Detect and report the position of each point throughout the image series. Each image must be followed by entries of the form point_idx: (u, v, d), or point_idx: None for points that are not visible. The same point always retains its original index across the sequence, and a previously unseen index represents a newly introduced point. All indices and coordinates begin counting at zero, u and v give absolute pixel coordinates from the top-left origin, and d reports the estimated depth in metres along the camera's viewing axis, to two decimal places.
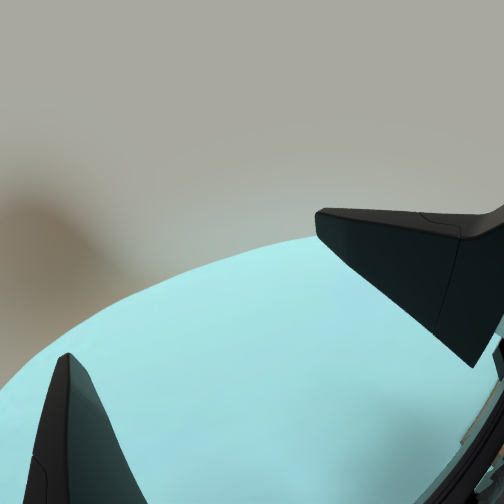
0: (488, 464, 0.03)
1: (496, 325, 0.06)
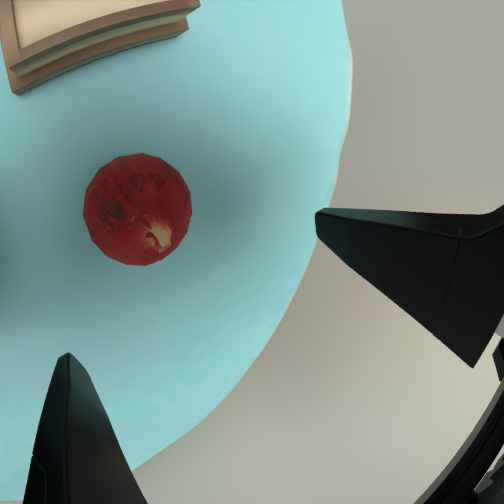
0: (488, 465, 0.03)
1: (496, 325, 0.06)
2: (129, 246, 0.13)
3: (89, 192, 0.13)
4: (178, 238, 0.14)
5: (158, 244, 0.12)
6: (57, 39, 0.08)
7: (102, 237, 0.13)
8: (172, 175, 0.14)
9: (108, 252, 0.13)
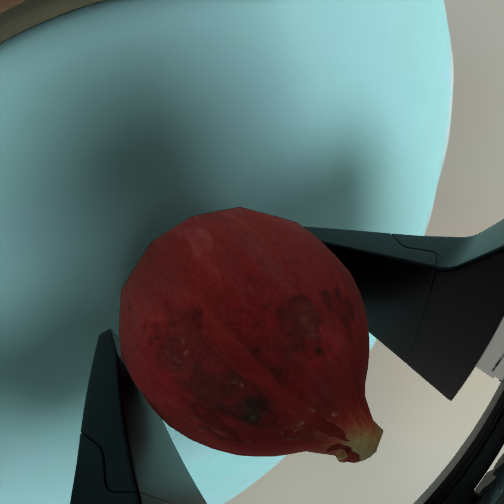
0: (489, 464, 0.03)
1: (476, 361, 0.06)
2: (270, 455, 0.05)
3: (139, 327, 0.05)
4: None
5: (353, 461, 0.04)
6: None
7: (193, 432, 0.05)
8: (348, 277, 0.06)
9: None
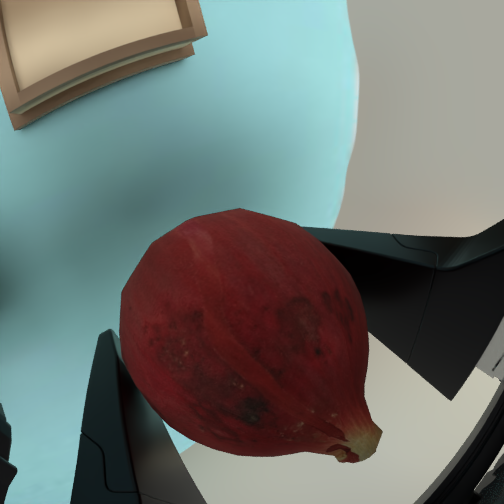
0: (489, 465, 0.03)
1: (476, 361, 0.06)
2: (270, 455, 0.05)
3: (140, 328, 0.05)
4: None
5: (353, 461, 0.04)
6: (58, 79, 0.08)
7: (192, 433, 0.05)
8: (348, 278, 0.06)
9: None
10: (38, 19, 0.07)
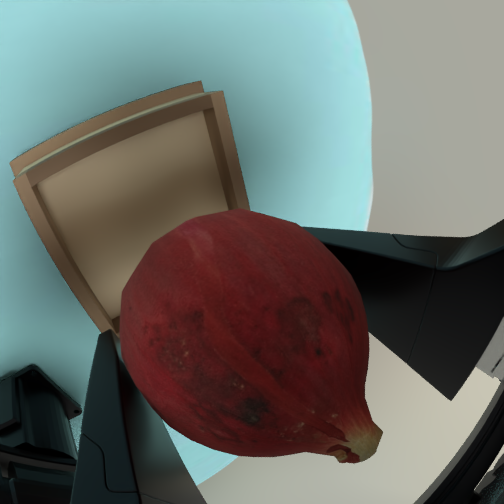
0: (488, 464, 0.03)
1: (476, 361, 0.06)
2: (270, 456, 0.05)
3: (140, 328, 0.05)
4: None
5: (353, 462, 0.04)
6: None
7: (193, 433, 0.05)
8: (348, 278, 0.06)
9: None
10: (110, 257, 0.13)
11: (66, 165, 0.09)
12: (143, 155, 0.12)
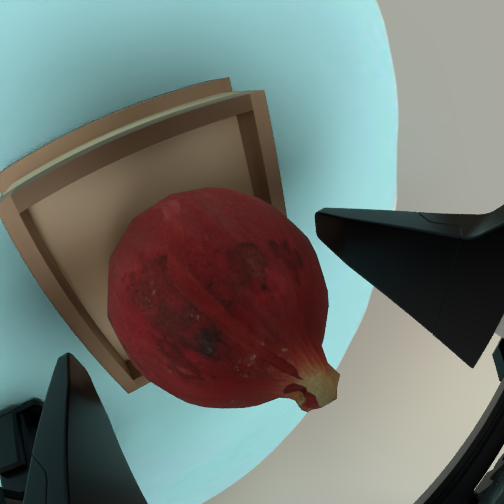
0: (489, 464, 0.03)
1: (496, 325, 0.06)
2: (234, 401, 0.06)
3: (120, 279, 0.06)
4: None
5: (313, 406, 0.05)
6: None
7: (164, 378, 0.06)
8: (301, 237, 0.07)
9: (176, 396, 0.06)
10: None
11: (64, 184, 0.07)
12: (163, 169, 0.10)
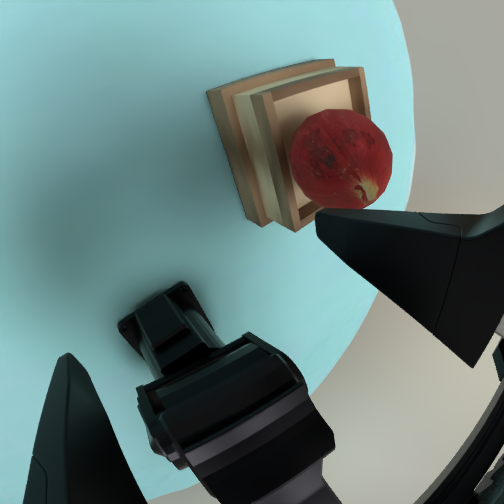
0: (488, 464, 0.03)
1: (496, 325, 0.06)
2: (335, 194, 0.14)
3: (299, 137, 0.15)
4: (379, 194, 0.14)
5: (365, 198, 0.13)
6: None
7: (309, 180, 0.15)
8: (380, 135, 0.13)
9: (312, 195, 0.15)
10: None
11: (294, 93, 0.15)
12: (320, 99, 0.18)
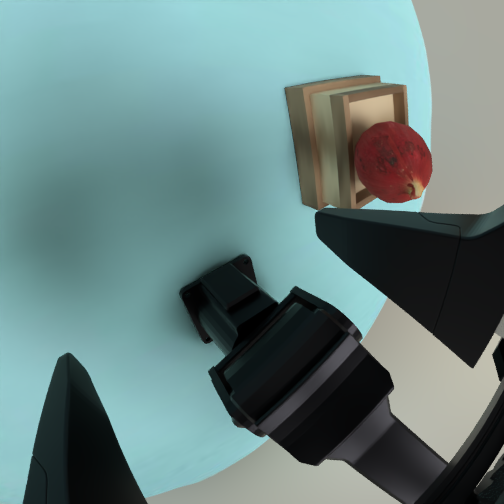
0: (489, 464, 0.03)
1: (496, 325, 0.06)
2: (391, 186, 0.17)
3: (369, 138, 0.18)
4: None
5: (413, 193, 0.16)
6: (369, 200, 0.24)
7: (372, 172, 0.18)
8: (428, 151, 0.17)
9: (370, 183, 0.19)
10: None
11: (362, 99, 0.19)
12: (374, 107, 0.21)
